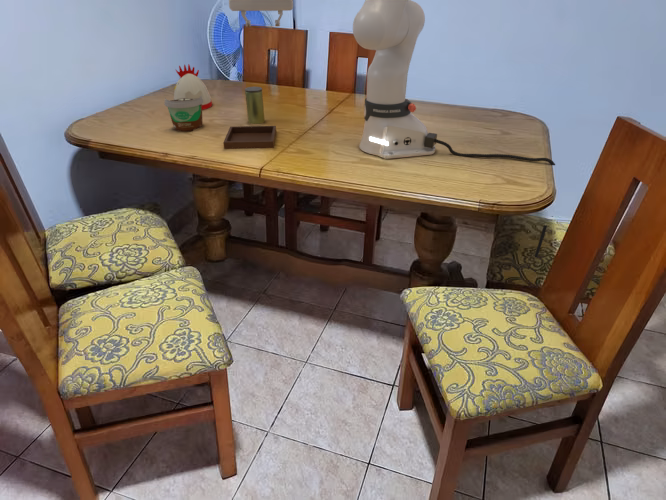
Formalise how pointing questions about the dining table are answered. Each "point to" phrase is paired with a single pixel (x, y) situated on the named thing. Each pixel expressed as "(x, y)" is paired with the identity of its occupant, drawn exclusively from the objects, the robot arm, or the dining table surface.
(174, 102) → the food container
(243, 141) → the tray
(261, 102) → the tin canister
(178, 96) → the kitchen timer
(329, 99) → the dining table surface
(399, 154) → the robot arm
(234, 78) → the dining table surface
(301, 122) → the dining table surface
